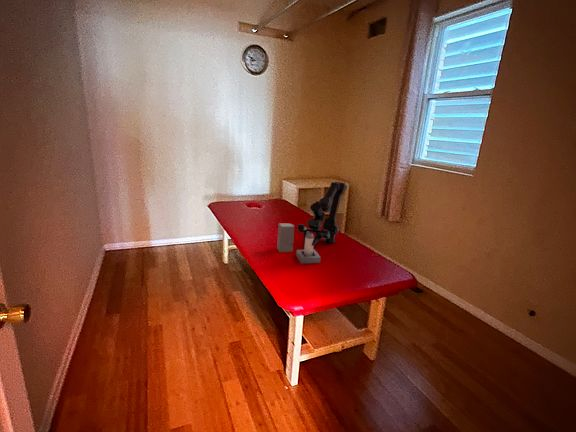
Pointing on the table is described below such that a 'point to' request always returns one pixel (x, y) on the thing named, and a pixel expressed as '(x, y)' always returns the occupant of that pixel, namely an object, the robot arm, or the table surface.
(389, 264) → the table surface
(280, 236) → the skincare box
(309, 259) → the jig
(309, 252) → the grey round-top peg
